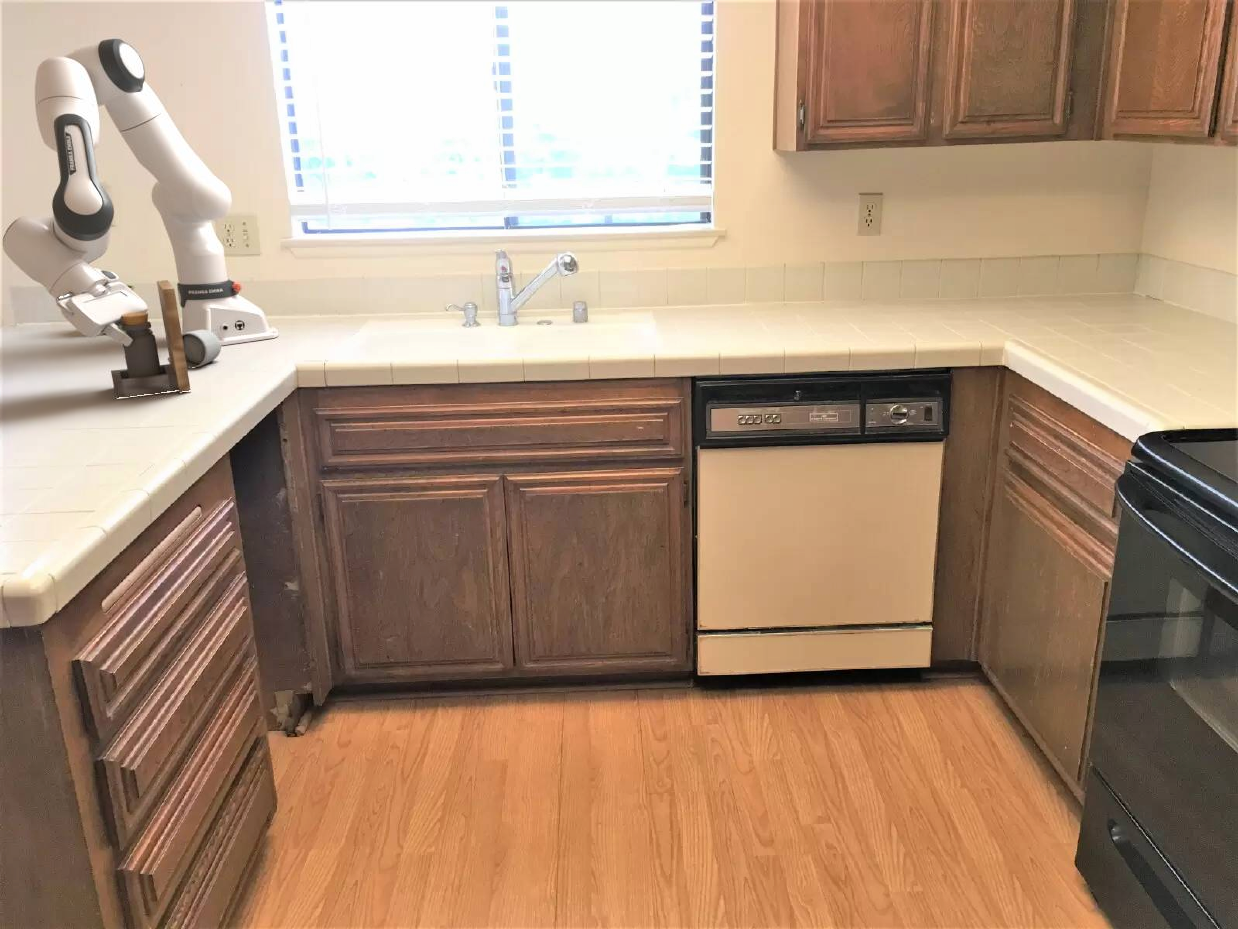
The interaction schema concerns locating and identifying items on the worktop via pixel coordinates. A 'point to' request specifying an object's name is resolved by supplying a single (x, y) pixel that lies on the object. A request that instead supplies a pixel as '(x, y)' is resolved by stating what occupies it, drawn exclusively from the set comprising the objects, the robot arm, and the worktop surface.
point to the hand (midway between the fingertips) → (140, 339)
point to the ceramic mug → (200, 347)
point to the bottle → (140, 346)
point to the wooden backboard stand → (177, 369)
